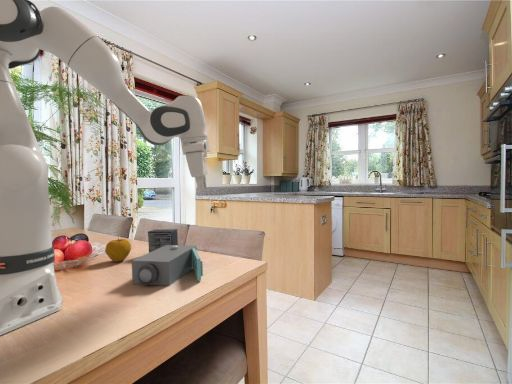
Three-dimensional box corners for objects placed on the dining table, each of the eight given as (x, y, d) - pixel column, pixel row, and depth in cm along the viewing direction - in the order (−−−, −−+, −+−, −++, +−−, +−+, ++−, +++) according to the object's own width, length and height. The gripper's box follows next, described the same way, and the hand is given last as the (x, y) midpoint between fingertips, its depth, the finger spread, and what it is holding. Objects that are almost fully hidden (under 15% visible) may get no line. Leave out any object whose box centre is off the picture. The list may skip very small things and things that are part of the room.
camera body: (165, 289, 75) (164, 261, 75) (127, 287, 77) (125, 260, 77) (197, 264, 97) (196, 243, 97) (166, 263, 99) (166, 242, 99)
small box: (179, 252, 115) (178, 228, 115) (172, 256, 109) (172, 231, 109) (155, 252, 116) (154, 228, 116) (148, 256, 110) (147, 231, 110)
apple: (114, 266, 98) (112, 241, 98) (100, 262, 103) (99, 239, 103) (136, 259, 106) (135, 237, 105) (122, 257, 110) (122, 235, 110)
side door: (203, 280, 80) (202, 258, 80) (197, 280, 80) (197, 258, 80) (197, 266, 94) (196, 247, 94) (192, 266, 93) (191, 248, 93)
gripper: (190, 151, 97) (196, 188, 99) (181, 146, 77) (189, 194, 78) (207, 148, 98) (213, 186, 99) (203, 143, 77) (210, 190, 79)
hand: (202, 189), depth 89 cm, fingers open, 8 cm apart
